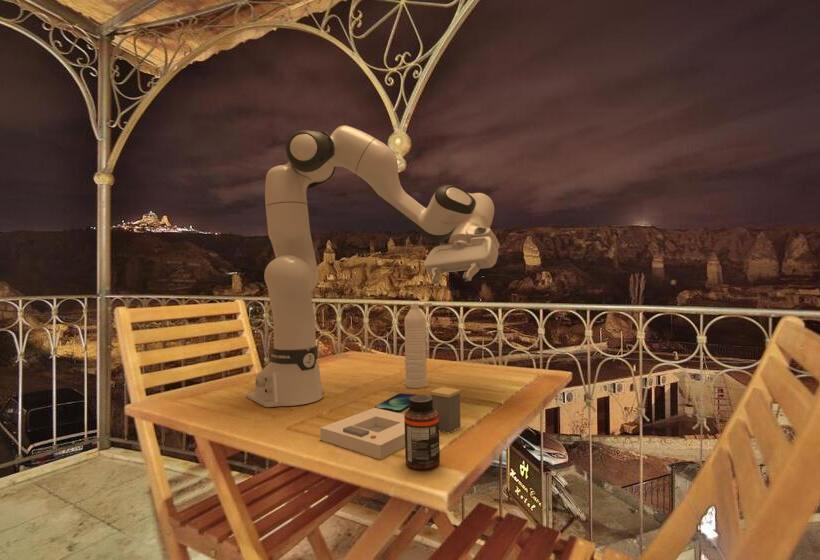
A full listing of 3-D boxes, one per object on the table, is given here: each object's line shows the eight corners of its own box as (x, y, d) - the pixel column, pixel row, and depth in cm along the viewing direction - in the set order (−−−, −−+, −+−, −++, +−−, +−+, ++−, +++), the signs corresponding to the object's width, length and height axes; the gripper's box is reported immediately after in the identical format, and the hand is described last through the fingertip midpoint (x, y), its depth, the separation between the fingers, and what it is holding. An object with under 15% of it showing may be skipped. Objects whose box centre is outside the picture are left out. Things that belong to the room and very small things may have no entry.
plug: (431, 429, 88) (430, 391, 88) (443, 423, 91) (442, 386, 91) (449, 433, 85) (448, 394, 85) (461, 427, 89) (460, 389, 89)
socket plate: (320, 440, 83) (320, 424, 83) (374, 418, 95) (374, 405, 95) (380, 459, 73) (380, 442, 73) (431, 432, 86) (431, 417, 86)
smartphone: (424, 395, 113) (400, 410, 99) (424, 398, 113) (400, 414, 99) (399, 393, 116) (373, 407, 102) (399, 396, 116) (373, 411, 102)
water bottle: (402, 388, 123) (401, 303, 123) (408, 383, 129) (407, 302, 129) (431, 389, 120) (430, 303, 121) (436, 384, 127) (434, 302, 127)
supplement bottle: (412, 454, 75) (411, 391, 75) (444, 459, 73) (442, 394, 73) (399, 468, 69) (398, 400, 69) (433, 473, 67) (432, 404, 67)
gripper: (429, 238, 115) (411, 276, 108) (495, 227, 102) (480, 268, 95) (440, 254, 118) (423, 291, 111) (505, 245, 106) (491, 286, 98)
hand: (450, 280), depth 103 cm, fingers open, 8 cm apart
